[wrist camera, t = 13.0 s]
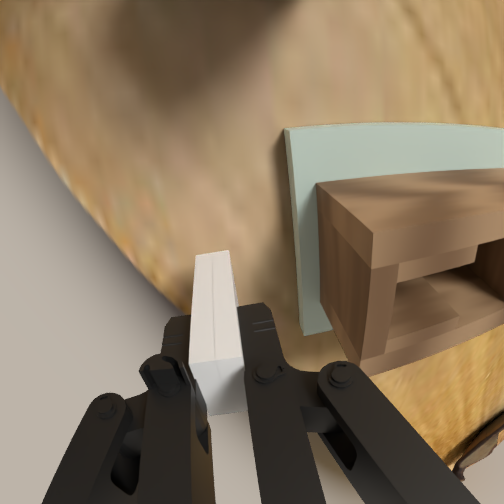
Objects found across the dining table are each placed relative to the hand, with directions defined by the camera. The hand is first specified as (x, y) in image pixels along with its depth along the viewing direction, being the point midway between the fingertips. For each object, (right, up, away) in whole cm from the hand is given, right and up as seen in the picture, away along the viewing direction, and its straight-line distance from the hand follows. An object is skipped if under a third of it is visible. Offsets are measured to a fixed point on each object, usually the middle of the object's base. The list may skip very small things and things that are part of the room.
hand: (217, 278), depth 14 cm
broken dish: (+50, -35, +28) cm, 67 cm away
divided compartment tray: (+15, +3, +2) cm, 15 cm away
